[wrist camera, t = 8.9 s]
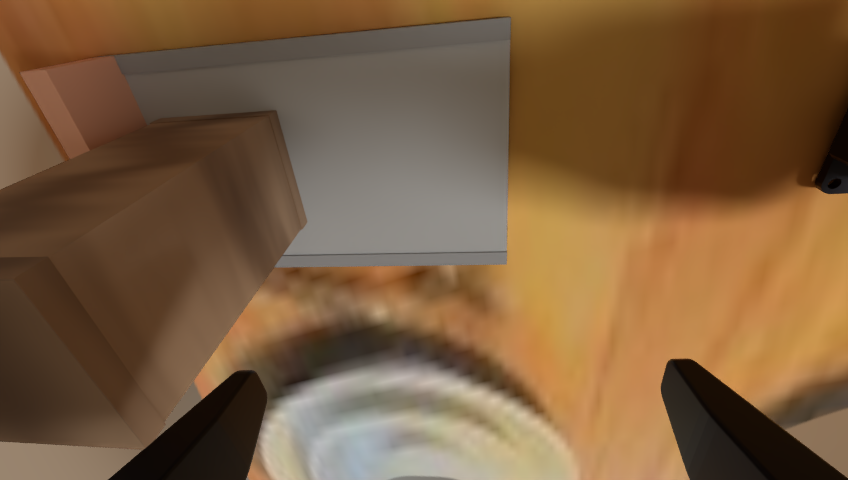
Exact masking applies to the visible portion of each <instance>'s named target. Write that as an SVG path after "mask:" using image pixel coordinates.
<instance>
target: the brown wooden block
mask: <svg viewBox="0 0 848 480" xmlns="http://www.w3.org/2000/svg"><path fill="white" fill-rule="evenodd" d="M306 224H307V218H306V215H305V211H304V207H303V204H302V200H301V197H300V193H299V189H298V186H297V182H296V179H295V175H294V172H293V168H292V164H291V161H290V157H289V154H288V150H287V147H286V143H285V139H284V136H283V132H282V129H281V125H280V121H279V118H278V114H277V111H276V110H272V111H258V112H243V113H229V114H214V115H200V116H186V117H171V118H160V119H158V120H155V121H153V122H151V123H150V125H147V126H145V127H143V128H141V129H138V130H136V131H134V132H131V133H129V134H127V135H124V136H122V137H120V138H118V139H115V140H113V141H111V142H108V143H106V144H104V145H102V146H99V147H97V148H95V149H92V150H90V151H88V152H86V153H83V154H81V155H79V156H76V157H74V158H72V159H69V160H67V161H65V162H63V163H60V164H58V165H56V166H53V167H51V168H49V169H47V170H44V171H42V172H40V173H37V174H35V175H33V176H31V177H28V178H26V179H24V180H21V181H19V182H17V183H14V184H12V185H10V186H8V187H5V188H3V189H1V190H0V441H2V442H3V441H4V442H20V443H37V444H53V445H54V444H55V445H70V446H71V445H72V446H88V447H105V448H124V449H139V450H144V449H145V448H146V447H147V446H148V445H150V444H151V443H152V442H153V441H154V440H155V439H156V437H157V436H158V435H159V433H160V432H161V430H162V429H163V428H164V426H165V425H166V424H165V421H166V419H167V418H168V416H169V415H170V413H171V412H172V411H173V409H174V408H175V406H176V405H177V404H178V402H179V401H180V399H181V398H182V397H183V395H184V394H185V392H186V391H187V390H188V388H189V387H190V385H191V384H192V382H193V381H194V380H195V378H196V377H197V375H198V374H199V373H200V371H201V370H202V368H203V367H204V366H205V364H206V363H207V361H208V360H209V358H210V357H211V356H212V354H213V353H214V351H215V350H216V349H217V347H218V346H219V344H220V343H221V342H222V340H223V339H224V337H225V336H226V334H227V333H228V332H229V330H230V329H231V327H232V326H233V325H234V323H235V322H236V320H237V319H238V318H239V316H240V315H241V313H242V312H243V310H244V309H245V308H246V306H247V305H248V303H249V302H250V301H251V299H252V298H253V296H254V295H255V294H256V292H257V291H258V289H259V288H260V286H261V285H262V284H263V282H264V281H265V279H266V278H267V277H268V275H269V274H270V272H271V271H272V270H273V268H274V267H275V265H276V264H277V262H278V261H279V260H280V258H281V257H282V255H283V254H284V253H285V251H286V250H287V248H288V247H289V246H290V244H291V243H292V241H293V240H294V238H295V237H296V236H297V234H298V233H299V231H300V230H303V228H304V227H305V225H306Z"/></svg>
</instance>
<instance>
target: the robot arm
mask: <svg viewBox="0 0 848 480" xmlns="http://www.w3.org/2000/svg"><path fill="white" fill-rule="evenodd" d="M833 179H835V180H834V181H833V182H832V183H831V184H829V185H828V183H829V182H830V181H831V180H833ZM815 186H816V188H818V189H819V190H821V191H822V192H824V193H827V194H842V193H848V110H847V112H846V114H845V116H844V119H843V121H842V123H841V125H840V128H839V130H838V132H837V134H836V136H835V139H834V141H833V143H832V145H831V148H830V150H829V152H828V154H827V156H826V159H825V161H824V163H823V165H822V168H821V170H820V172H819V174H818V176H817V179H816V181H815ZM661 394H662V398H663V401H664V404H665V407H666V410H667V413H668V416H669V419H670V423H671V426H672V429H673V432H674V435H675V438H676V441H677V444H678V447H679V450H680V453H681V456H682V460H683V462H684V465H685V468H686V471H687V474H688V476H689V478H690V480H848V478H847V477H845V476H844V475H843V474H841V473H840V472H839V471H838V470H836V469H835V468H834V467H832V466H831V465H830V464H828V463H827V462H826V461H824V460H823V459H822V458H821V457H819V456H818V455H817V454H815V453H814V452H813V451H811V450H810V449H809V448H807V447H806V446H805V445H803V444H802V443H801V442H800V441H798V440H797V439H796V438H794V437H793V436H792V435H790V434H789V433H788V432H787V431H785V430H784V429H783V428H781V427H780V426H779V425H778V424H776V423H775V422H774V421H772V420H771V419H770V418H768V417H767V416H766V415H765V414H763V413H762V412H761V411H759V410H758V409H757V408H755V407H754V406H753V405H751V404H750V403H749V402H748V401H746V400H745V399H744V398H742V397H741V396H740V395H738V394H737V393H736V392H735V391H733V390H732V389H731V388H729V387H728V386H727V385H725V384H724V383H723V382H721V381H720V380H719V379H718V378H716V377H715V376H714V375H712V374H711V373H710V372H708V371H707V370H706V369H705V368H703V367H702V366H701V365H699V364H698V363H697V362H695V361H693V360H691V359H670V360H669V361H668V362H667V365H666V368H665V372H664V376H663V380H662V383H661ZM266 404H267V392H266V390H265V388H264V386H263V384H262V382H261V380H260V378H259V376H258V374H257V373H256V372H255V371H253V370H241V371H236V372H235V373H233V374H232V375H231V376H230V377H228V378H227V379H226V380H225V381H224V382H223V383H221V384H220V385H219V386H218V387H217V388H215V389H214V390H213V391H212V392H211V393H210V394H208V395H207V396H206V397H205V398H204V399H203V400H201V402H199V403H198V404H197V405H196V406H194V407H193V408H192V409H191V410H190V411H188V412H187V413H186V414H185V415H184V416H183V417H181V418H180V419H179V420H178V421H177V422H176V423H174V424H173V425H172V426H171V427H170V428H168V429H167V430H166V431H165V432H164V433H163V434H161V435H160V436H159V437H158V438H157V439H155V440H154V441H153V442H152V443H151V444H150V445H148V446H147V447H146V448H145V449H144V450H142V451H141V452H140V453H139V454H138V455H137V456H135V457H134V458H133V459H132V460H131V461H130V462H128V463H127V464H126V465H125V466H124V467H122V468H121V469H120V470H119V471H118V472H117V473H115V474H114V475H113V476H112V477H111V478H110V479H108V480H246V478H247V475H248V472H249V469H250V465H251V462H252V459H253V455H254V451H255V447H256V443H257V439H258V435H259V431H260V427H261V424H262V420H263V416H264V412H265V408H266Z"/></svg>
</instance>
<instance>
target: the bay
mask: <svg viewBox="0 0 848 480" xmlns="http://www.w3.org/2000/svg"><path fill="white" fill-rule="evenodd" d="M510 36H511V17H500V18H490V19H479V20H469V21H459V22H448V23H438V24H428V25H417V26H407V27H397V28H387V29H376V30H366V31H356V32H345V33H335V34H325V35H315V36H304V37H294V38H284V39H273V40H263V41H253V42H242V43H232V44H222V45H212V46H201V47H191V48H181V49H170V50H160V51H150V52H140V53H129V54H119V55H109V56H99V57H94V58H89V59H84V60H79V61H73V62H68V63H63V64H58V65H53V66H48V67H43V68H38V69H33V70H28V71H23V72H19V73H20V74H21V76H22V78H23V80H24V81H25V83H26V85H27V87H28V88H29V90H30V92H31V93H32V95H33V97H34V99H35V100H36V102H37V104H38V105H39V107H40V109H41V111H42V112H43V114H44V116H45V117H46V119H47V121H48V123H49V124H50V126H51V128H52V130H53V131H54V133H55V135H56V136H57V138H58V140H59V142H60V143H61V145H62V147H63V148H64V150H65V152H66V154H67V155H68V157H69V159H72V158H74V157H76V156H79V155H81V154H83V153H86V152H88V151H90V150H92V149H95V148H97V147H99V146H102V145H104V144H106V143H108V142H111V141H113V140H115V139H118V138H120V137H122V136H124V135H127V134H129V133H131V132H134V131H136V130H138V129H141V128H143V127H145V126H147V125H150V123H151V122H153V121H155V120H158V119H160V118H171V117H186V116H200V115H214V114H229V113H243V112H258V111H272V110H276V111H277V114H278V118H279V121H280V125H281V129H282V132H283V136H284V139H285V143H286V147H287V150H288V154H289V157H290V161H291V164H292V168H293V172H294V175H295V179H296V182H297V186H298V189H299V193H300V197H301V200H302V204H303V207H304V211H305V215H306V218H307V224H306V225H305V227H304V228H303V230H300V231H299V233H298V234H297V236H296V237H295V238H294V240H293V241H292V243H291V244H290V246H289V247H288V248H287V250H286V251H285V253H284V254H283V255H282V257H281V258H280V260H279V261H278V262H277V264H276V265H275V267H341V266H420V265H498V264H507V203H508V144H509V85H510Z"/></svg>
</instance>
